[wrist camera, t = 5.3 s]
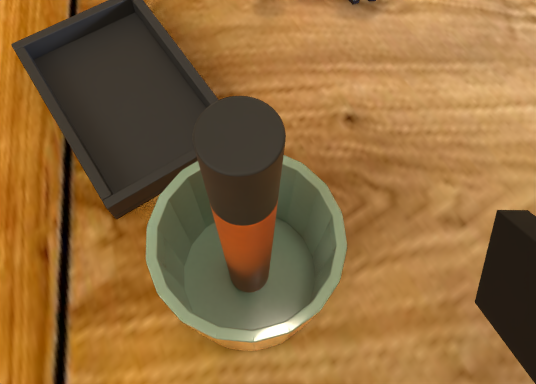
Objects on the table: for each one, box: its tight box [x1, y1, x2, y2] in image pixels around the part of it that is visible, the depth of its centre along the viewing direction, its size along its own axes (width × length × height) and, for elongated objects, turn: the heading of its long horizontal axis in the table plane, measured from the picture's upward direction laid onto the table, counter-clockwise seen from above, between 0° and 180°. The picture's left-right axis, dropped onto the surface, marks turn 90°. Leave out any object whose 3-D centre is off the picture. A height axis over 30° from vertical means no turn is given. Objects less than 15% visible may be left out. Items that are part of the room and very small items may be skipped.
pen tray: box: [11, 0, 218, 219], centre depth 31 cm, size 15×10×2 cm, turn 34°
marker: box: [193, 96, 286, 292], centre depth 19 cm, size 2×2×17 cm
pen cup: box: [146, 155, 347, 351], centre depth 23 cm, size 9×9×8 cm
